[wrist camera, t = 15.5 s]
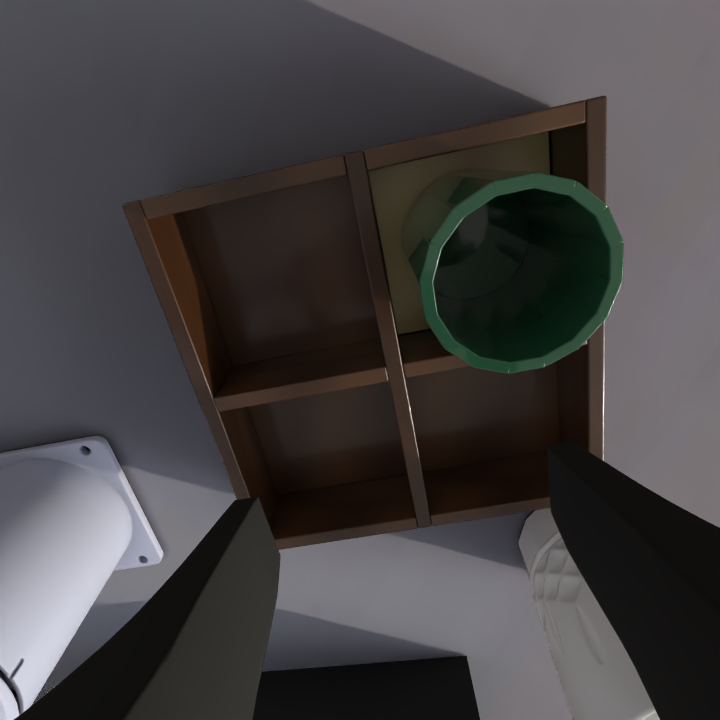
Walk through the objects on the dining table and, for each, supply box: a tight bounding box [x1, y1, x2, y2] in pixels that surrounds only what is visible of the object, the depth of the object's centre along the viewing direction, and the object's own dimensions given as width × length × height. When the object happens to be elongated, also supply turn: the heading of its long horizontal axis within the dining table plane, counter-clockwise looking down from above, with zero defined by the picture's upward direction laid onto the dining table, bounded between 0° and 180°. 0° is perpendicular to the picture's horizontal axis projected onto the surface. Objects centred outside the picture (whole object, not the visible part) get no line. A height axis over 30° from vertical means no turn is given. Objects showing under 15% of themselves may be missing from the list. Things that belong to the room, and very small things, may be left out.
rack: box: [122, 96, 607, 550], centre depth 18 cm, size 15×15×4 cm
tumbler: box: [401, 168, 624, 373], centre depth 14 cm, size 5×5×6 cm
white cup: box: [518, 508, 660, 720], centre depth 20 cm, size 8×8×10 cm
